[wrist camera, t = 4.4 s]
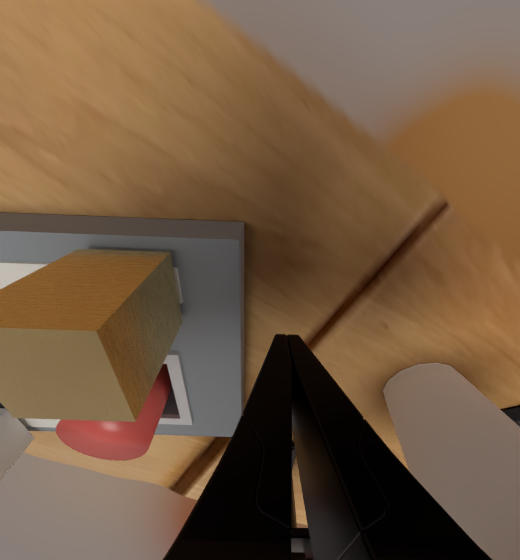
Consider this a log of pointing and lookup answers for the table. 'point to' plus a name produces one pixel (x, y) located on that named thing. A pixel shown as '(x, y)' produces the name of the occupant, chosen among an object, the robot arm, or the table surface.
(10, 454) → the ivory slider
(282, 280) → the table surface
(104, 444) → the red button
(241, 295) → the panel
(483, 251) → the table surface
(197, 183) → the table surface
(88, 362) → the brass slider
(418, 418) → the foam cup
